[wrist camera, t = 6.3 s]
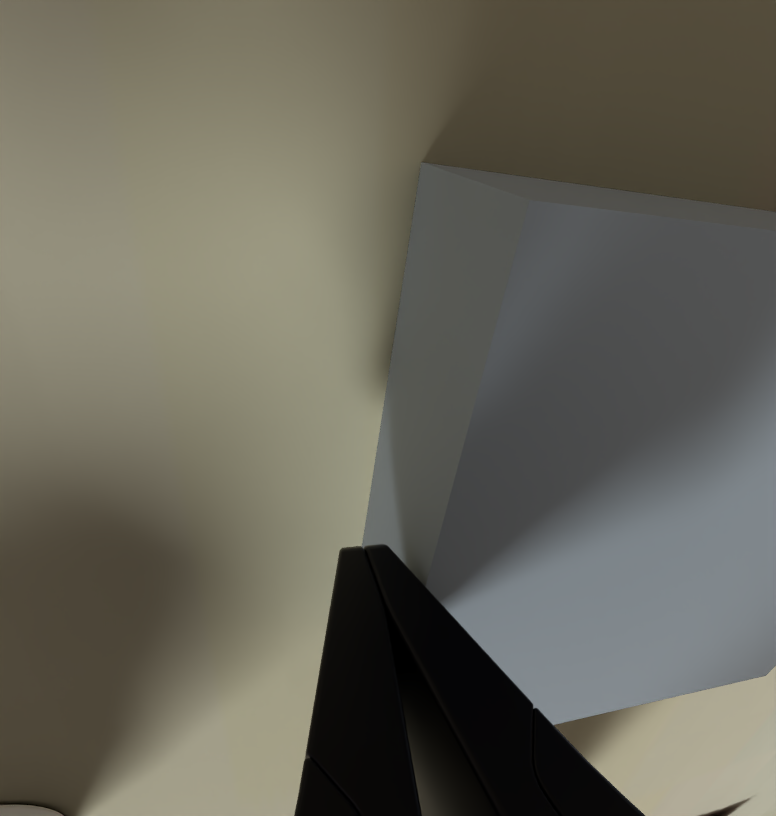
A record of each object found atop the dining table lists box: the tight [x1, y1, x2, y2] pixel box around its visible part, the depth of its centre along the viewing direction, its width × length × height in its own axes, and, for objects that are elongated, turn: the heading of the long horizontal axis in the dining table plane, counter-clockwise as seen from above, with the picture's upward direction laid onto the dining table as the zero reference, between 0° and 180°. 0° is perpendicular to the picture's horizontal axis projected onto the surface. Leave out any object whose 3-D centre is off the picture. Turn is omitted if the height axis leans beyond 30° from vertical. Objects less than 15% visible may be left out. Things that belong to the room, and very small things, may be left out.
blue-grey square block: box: [362, 162, 776, 725], centre depth 11 cm, size 12×12×4 cm
